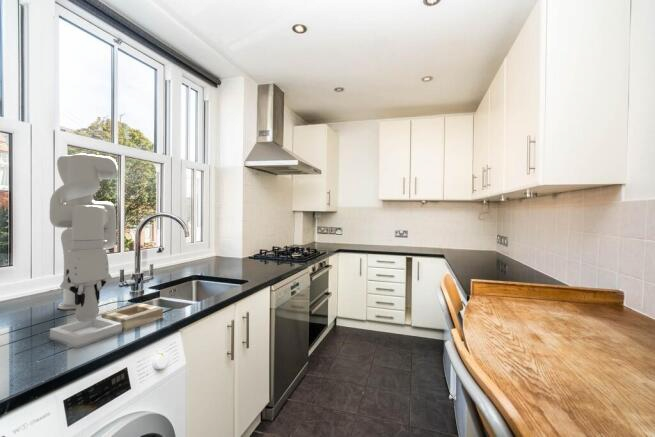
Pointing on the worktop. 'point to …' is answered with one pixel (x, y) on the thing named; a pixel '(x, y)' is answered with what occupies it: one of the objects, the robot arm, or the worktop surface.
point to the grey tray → (85, 332)
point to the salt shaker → (88, 303)
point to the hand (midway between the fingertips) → (87, 304)
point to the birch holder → (134, 315)
